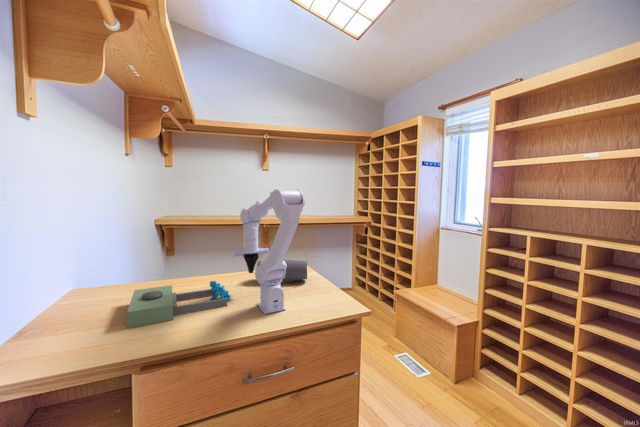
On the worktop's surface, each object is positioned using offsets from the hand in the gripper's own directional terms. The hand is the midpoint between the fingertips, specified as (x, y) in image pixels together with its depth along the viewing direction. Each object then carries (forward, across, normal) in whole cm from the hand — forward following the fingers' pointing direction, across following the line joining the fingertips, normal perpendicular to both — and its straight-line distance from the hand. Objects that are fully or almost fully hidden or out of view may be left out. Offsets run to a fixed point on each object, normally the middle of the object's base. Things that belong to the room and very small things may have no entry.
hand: (250, 272), depth 109 cm
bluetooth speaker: (+10, -18, -10) cm, 22 cm away
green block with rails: (+9, +25, 0) cm, 27 cm away
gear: (+10, +12, 0) cm, 15 cm away
